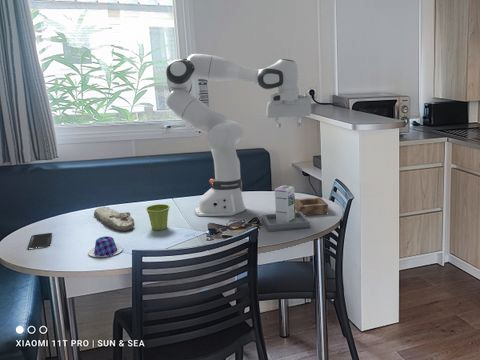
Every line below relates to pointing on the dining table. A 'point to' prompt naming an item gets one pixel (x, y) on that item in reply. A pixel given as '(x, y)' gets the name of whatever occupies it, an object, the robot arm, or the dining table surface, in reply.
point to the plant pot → (158, 216)
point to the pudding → (105, 247)
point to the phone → (40, 240)
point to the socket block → (311, 206)
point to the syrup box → (285, 204)
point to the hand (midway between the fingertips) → (289, 126)
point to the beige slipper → (115, 218)
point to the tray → (298, 224)
